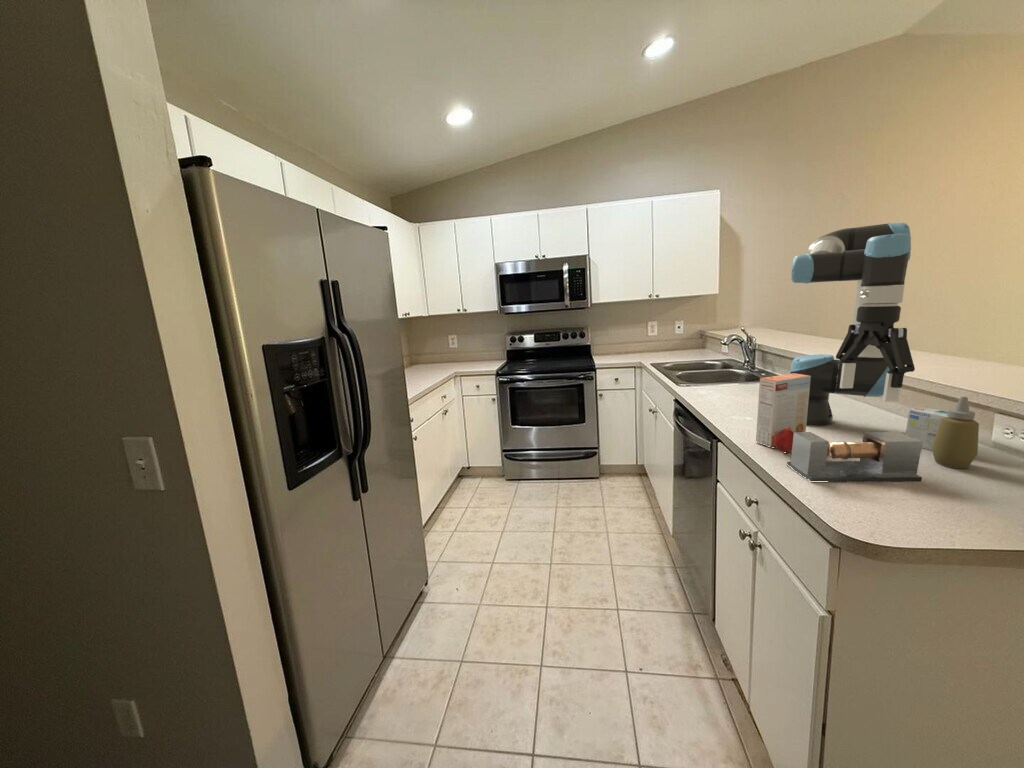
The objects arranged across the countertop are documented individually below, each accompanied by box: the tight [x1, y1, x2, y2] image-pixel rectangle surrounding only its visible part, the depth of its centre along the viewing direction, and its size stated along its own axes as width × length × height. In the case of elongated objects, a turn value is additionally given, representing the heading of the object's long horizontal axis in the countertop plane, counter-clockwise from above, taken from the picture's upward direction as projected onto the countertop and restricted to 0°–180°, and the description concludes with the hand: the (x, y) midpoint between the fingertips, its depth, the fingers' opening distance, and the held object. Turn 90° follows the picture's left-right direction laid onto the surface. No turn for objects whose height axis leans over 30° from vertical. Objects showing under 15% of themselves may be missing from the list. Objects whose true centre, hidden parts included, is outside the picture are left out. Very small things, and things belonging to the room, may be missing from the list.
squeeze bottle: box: [931, 396, 980, 469], centre depth 103 cm, size 8×8×18 cm
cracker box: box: [755, 373, 811, 448], centre depth 123 cm, size 14×6×21 cm, turn 108°
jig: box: [786, 431, 923, 483], centre depth 101 cm, size 10×25×10 cm, turn 85°
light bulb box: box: [905, 406, 948, 451], centre depth 115 cm, size 11×7×11 cm, turn 17°
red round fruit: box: [774, 427, 794, 454], centre depth 116 cm, size 6×6×8 cm
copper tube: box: [827, 441, 882, 460], centre depth 101 cm, size 4×18×4 cm, turn 85°
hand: (866, 394), depth 98 cm, fingers open, 13 cm apart
